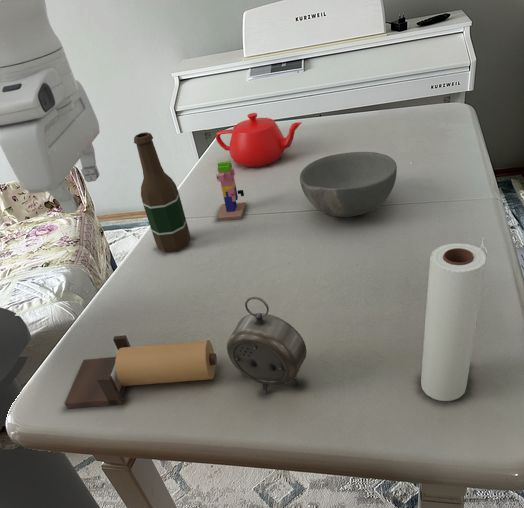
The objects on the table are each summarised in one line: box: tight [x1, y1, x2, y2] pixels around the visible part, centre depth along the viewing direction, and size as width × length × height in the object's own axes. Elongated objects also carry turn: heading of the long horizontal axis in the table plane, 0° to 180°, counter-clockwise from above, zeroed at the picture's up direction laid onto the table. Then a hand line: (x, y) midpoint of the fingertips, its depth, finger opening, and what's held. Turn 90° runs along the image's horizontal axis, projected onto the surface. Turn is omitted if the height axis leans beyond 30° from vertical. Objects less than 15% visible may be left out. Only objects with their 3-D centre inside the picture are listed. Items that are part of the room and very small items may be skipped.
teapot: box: [215, 112, 303, 168], centre depth 140 cm, size 25×16×12 cm, turn 73°
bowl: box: [299, 151, 398, 218], centre depth 111 cm, size 20×20×10 cm
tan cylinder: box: [111, 339, 218, 387], centre depth 80 cm, size 16×8×6 cm, turn 88°
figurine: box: [215, 160, 247, 221], centre depth 119 cm, size 7×6×12 cm
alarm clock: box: [226, 296, 307, 395], centre depth 73 cm, size 11×5×16 cm, turn 66°
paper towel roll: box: [420, 237, 488, 402], centre depth 65 cm, size 7×6×21 cm
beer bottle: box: [133, 131, 191, 253], centre depth 107 cm, size 8×8×24 cm
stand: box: [64, 334, 132, 410], centre depth 82 cm, size 9×10×6 cm
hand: (83, 194), depth 70 cm, fingers open, 8 cm apart
